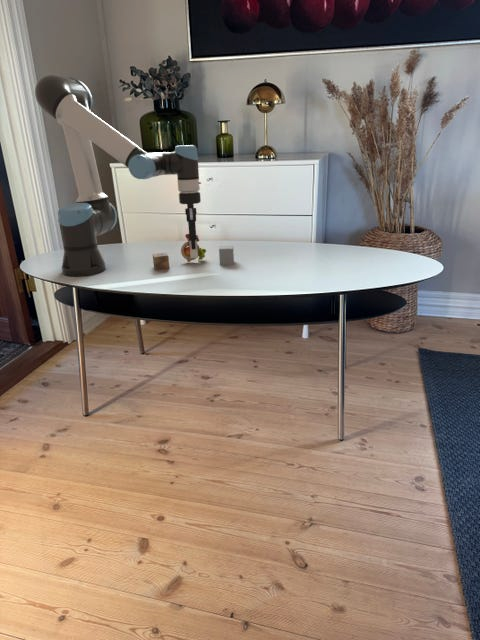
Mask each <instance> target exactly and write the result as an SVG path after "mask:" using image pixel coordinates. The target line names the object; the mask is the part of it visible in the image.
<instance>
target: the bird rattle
mask: <svg viewBox="0 0 480 640" xmlns="http://www.w3.org/2000/svg"><path fill="white" fill-rule="evenodd" d="M184 237H185V238H186V239H187V241H186V242H184V243H183V244H182V246H181V248H180V253H181V254H180V255H182V257H183V259H185V260H186V261H187V263H190V262H191V261H194V260H196V259H197V258H191V257H190V244H189V241H188V239H189V233H186V234H185V236H184ZM196 237H198V239H197V251H198V259H197V260H198V261H203V259H204V258H205V257H206V255H205V254H206V252H207V249H205V248H202V247H200V245H199V244H198V242H200V239H199V234H196Z"/></svg>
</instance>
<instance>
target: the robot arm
mask: <svg viewBox="0 0 480 640" xmlns="http://www.w3.org/2000/svg"><path fill="white" fill-rule="evenodd" d="M88 87H89V86H87V85H86V84H85V83H84V82H82V81H81V80H78V79H76V78H73V77H65V76H59V75H55V74H48V75H45V76H43V77H41V78H40V79H39V80H38V82H37V83H36V85H35V87H34V96H35V99H36V102H37V103H38V106H39V107H40V108H41V109H42V110H43V111H45V112H46V113H47V114H48V115H49V116H51V117H52V118H53V119H55V120H56V122H57V123H58V124H59V125H60V126H61V127H62V130H63V133H64V138H65V142H66V146H67V151H68V154H69V158H70V163H71V164H70V165H71V168H72V172H73V175H74V181H75V185H76V189H77V193H78V197H77V199H76V200H75V203H71V204H66V205H63V206H61V207H60V208H59V209H58V211H57V215H58V216H57V217H58V219H57V222H58V226H59V229H60V236H61V241H62V246H63V256H62V264H61V271H62V274H63V275H64V276H69V277H83V276H90V275H91V276H92V275H96V274H98V273H102V272H105V271H106V269H107V268H106V262H105V259H104V258H103V256H102V254H101V252H100V250H99V247H98V240H97V239H98V238H97V237H98V236H100V235H104V234H106V233H108V232H110V231H111V230H113V229H114V227H115V226H116V224H117V221H118V213H117V212H118V211H117V210H116V208H115V206H114V205H113V204H112V203H110V201H109V200H110V199H109V196H108V195H107V194H105V192H104V191H103V188H102V183H101V179H100V178H101V177H100V174H99V169H98V166H97V161H96V156H95V152H94V148H93V144H92V143H94V144H95V145H96V146H98V148H100V149H102V151H104V152H106V153H107V154H108V155H110V156H111V157H113V159H115V160H117V161H118V162H120V163H121V164H123V165H124V166H125V167H126V168H127V169H128V171H129V173H130V174H131V176H132V177H133V178H135V179H136V180H149V179H151V178H154V177H158V176H163V175H164V176H170V175H176V177H177V190H178V192H179V193H178V200H179V201H178V202H179V204H181V205H186V207H185V208H184V213H185V215H186V222H187V225H188V226H187V227H188V234H189V239H187V242H188V241H189V244H190V257H191V258H196V259H197V258H198V259H199V256H198V251H197V244H198V242H197V239H198V238H199V236H198V237H196V235H197V229H196V228H197V226H196V221H197V207H194V204H195V205H196V204H199V203H201V192H200V190H201V189H200V185H202V181H200V174H199V172H200V171H199V156H198V149H197V146H196V145H194V144H190V145H189V144H188V145H187V144H186V145H175V148H174V151H171V152H169V151H167V152H166V151H163V152H155V151H153V152H151V151H150V152H147V151H145V150H143V149H142V148H141V147H140V146H138V145H137V144H136V143H134V142H133V141H131V139H129V138H128V137H126V136H125V135H123V134H122V133H120V132H119V131H118V130H116V129H115V128H114V127H112V126H111V125H110V124H108V123H107V122H105V121H104V120H102V118H100V117H99V116H97V115H96V114H94V112H92V111H91V108H92V106H93V95H92V94H91V91H90V89H89V88H88Z"/></svg>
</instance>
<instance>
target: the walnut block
mask: <svg viewBox="0 0 480 640" xmlns="http://www.w3.org/2000/svg"><path fill="white" fill-rule="evenodd" d="M152 260H153V261H152V262H153V269H154V270H155V271H164V270H170V258H169V254H168V252H161V253H152Z"/></svg>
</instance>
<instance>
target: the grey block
mask: <svg viewBox="0 0 480 640" xmlns="http://www.w3.org/2000/svg"><path fill="white" fill-rule="evenodd" d="M218 255H219V266H232V265H234V264H235V259H234V256H235V255H234V245H219V248H218Z"/></svg>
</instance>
